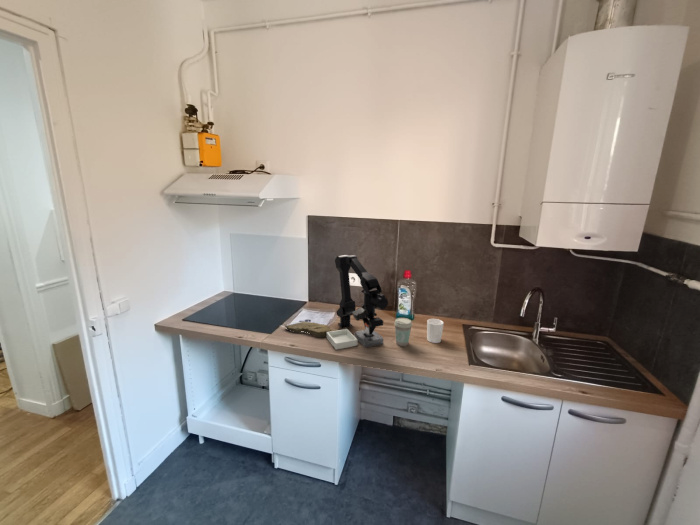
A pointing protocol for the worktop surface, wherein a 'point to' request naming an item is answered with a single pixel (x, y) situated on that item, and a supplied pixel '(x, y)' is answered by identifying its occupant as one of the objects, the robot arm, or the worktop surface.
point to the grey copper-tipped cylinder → (367, 331)
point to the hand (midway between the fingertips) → (368, 332)
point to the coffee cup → (402, 331)
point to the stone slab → (310, 328)
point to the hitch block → (368, 339)
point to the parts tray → (341, 339)
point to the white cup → (434, 330)
